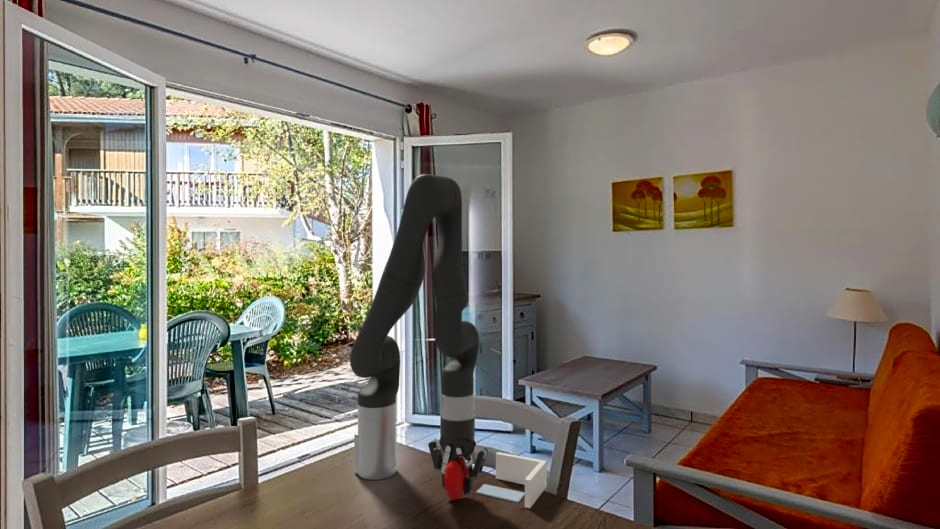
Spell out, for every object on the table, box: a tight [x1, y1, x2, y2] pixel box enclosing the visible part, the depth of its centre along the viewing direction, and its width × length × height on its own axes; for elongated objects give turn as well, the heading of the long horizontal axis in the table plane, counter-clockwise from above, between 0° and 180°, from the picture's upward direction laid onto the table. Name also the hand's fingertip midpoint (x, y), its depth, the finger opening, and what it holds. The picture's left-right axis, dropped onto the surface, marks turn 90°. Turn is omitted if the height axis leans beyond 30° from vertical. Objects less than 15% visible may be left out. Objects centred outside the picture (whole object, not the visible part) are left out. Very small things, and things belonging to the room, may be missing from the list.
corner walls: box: [495, 451, 548, 509], centre depth 118 cm, size 12×11×6 cm
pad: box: [475, 483, 525, 503], centre depth 117 cm, size 10×4×1 cm, turn 64°
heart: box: [444, 460, 465, 501], centre depth 114 cm, size 12×4×10 cm, turn 169°
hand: (457, 490), depth 114 cm, fingers closed on heart, 4 cm apart
